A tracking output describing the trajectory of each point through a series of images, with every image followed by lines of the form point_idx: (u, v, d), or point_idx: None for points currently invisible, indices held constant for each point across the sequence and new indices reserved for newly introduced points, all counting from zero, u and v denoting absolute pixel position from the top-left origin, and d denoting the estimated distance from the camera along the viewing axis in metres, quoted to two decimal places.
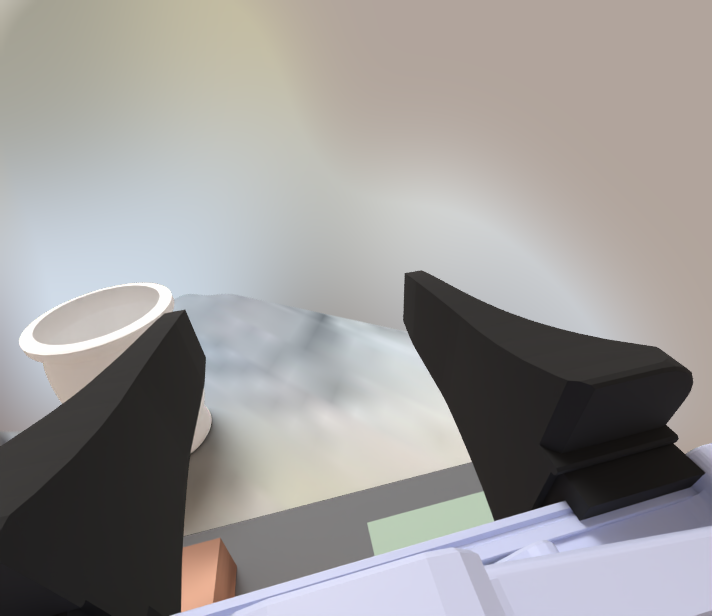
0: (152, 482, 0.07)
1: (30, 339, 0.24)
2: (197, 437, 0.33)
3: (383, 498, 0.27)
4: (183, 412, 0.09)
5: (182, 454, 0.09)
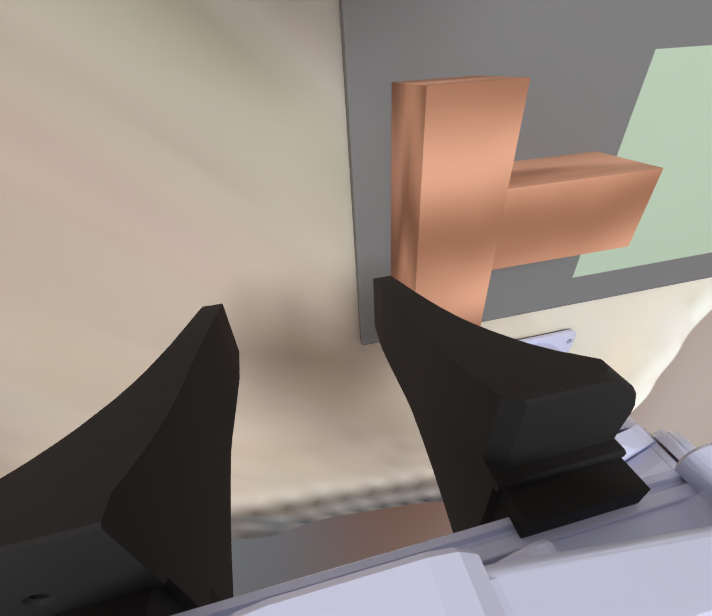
0: (206, 469, 0.07)
1: None
2: None
3: (699, 8, 0.16)
4: (225, 403, 0.09)
5: (226, 444, 0.09)
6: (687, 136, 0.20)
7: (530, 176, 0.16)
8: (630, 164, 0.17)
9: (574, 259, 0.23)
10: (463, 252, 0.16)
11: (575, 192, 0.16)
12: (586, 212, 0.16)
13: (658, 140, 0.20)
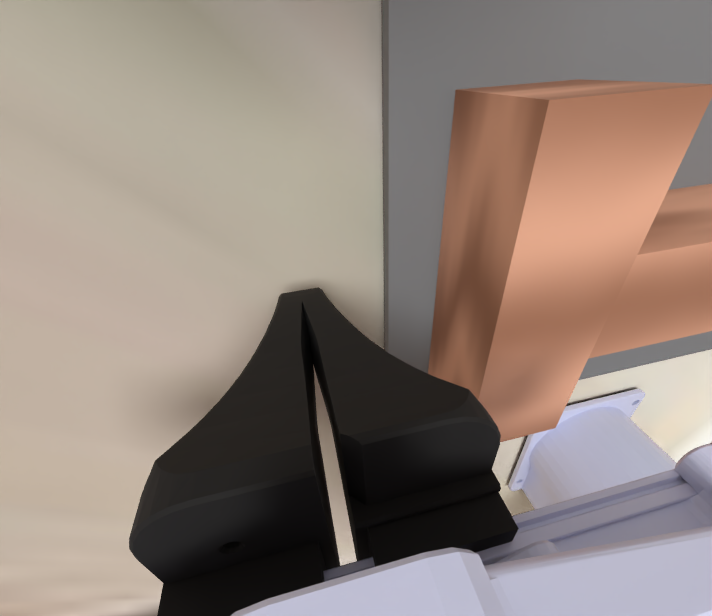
0: (318, 443, 0.08)
1: None
2: None
3: None
4: (312, 385, 0.10)
5: (316, 423, 0.09)
6: None
7: (654, 228, 0.11)
8: None
9: None
10: (554, 341, 0.11)
11: None
12: None
13: None
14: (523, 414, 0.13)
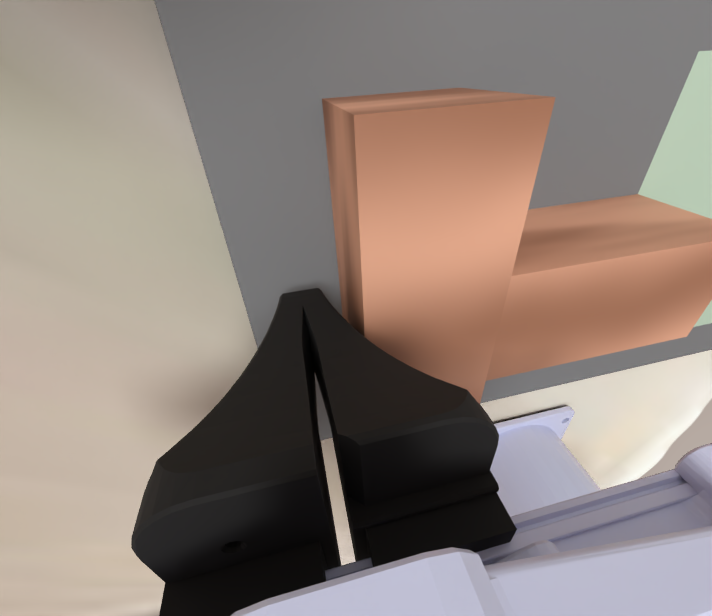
0: (319, 443, 0.08)
1: None
2: None
3: None
4: (313, 385, 0.10)
5: (317, 423, 0.09)
6: None
7: (545, 245, 0.10)
8: (698, 223, 0.11)
9: None
10: (440, 364, 0.10)
11: (618, 274, 0.10)
12: (633, 299, 0.11)
13: (693, 182, 0.14)
14: None
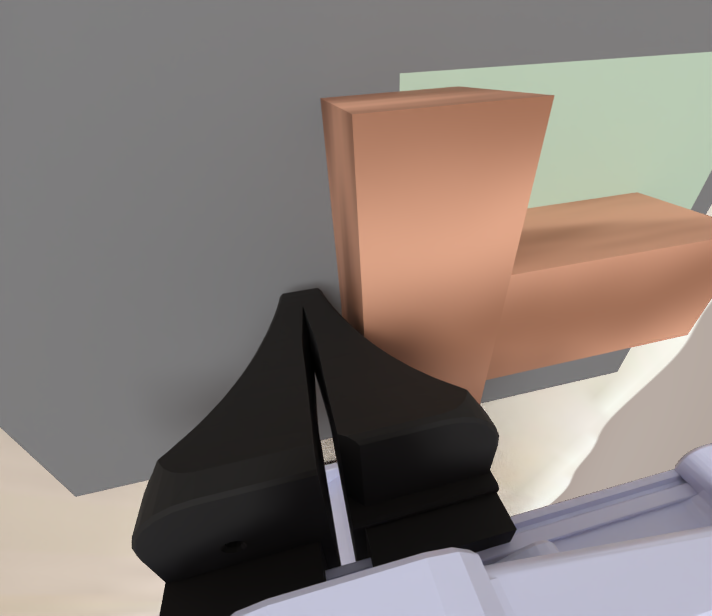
0: (319, 443, 0.08)
1: None
2: None
3: (464, 0, 0.09)
4: (313, 385, 0.10)
5: (317, 423, 0.09)
6: None
7: (545, 244, 0.10)
8: (698, 221, 0.11)
9: None
10: (440, 363, 0.10)
11: (618, 273, 0.10)
12: (632, 297, 0.11)
13: None
14: None
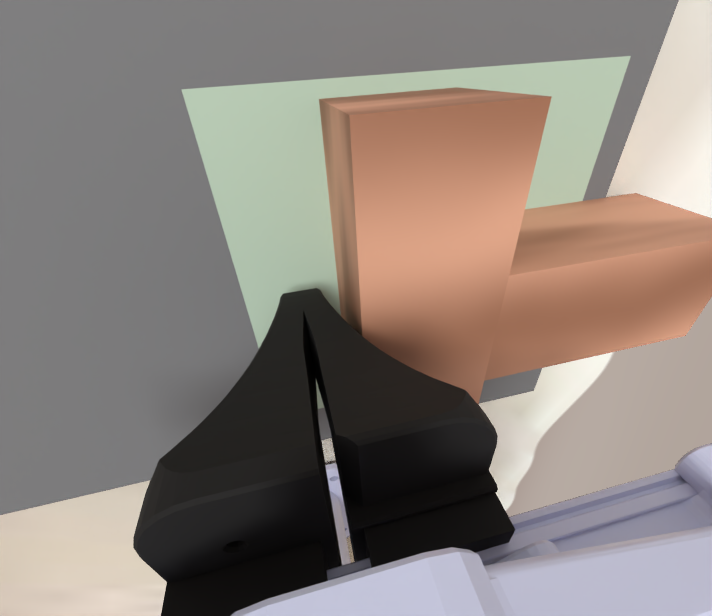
0: (320, 443, 0.08)
1: None
2: None
3: (236, 9, 0.08)
4: (313, 385, 0.10)
5: (318, 423, 0.09)
6: None
7: (543, 244, 0.10)
8: (697, 222, 0.11)
9: None
10: (438, 364, 0.10)
11: (616, 274, 0.10)
12: (631, 298, 0.11)
13: (306, 237, 0.11)
14: None
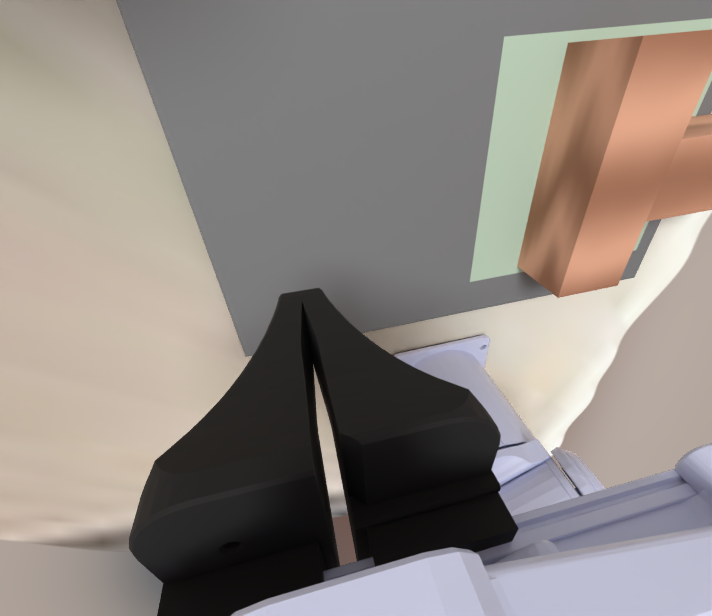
0: (317, 443, 0.08)
1: None
2: None
3: None
4: (311, 385, 0.10)
5: (316, 423, 0.09)
6: None
7: (689, 130, 0.17)
8: None
9: (467, 263, 0.22)
10: (626, 203, 0.17)
11: None
12: None
13: (532, 135, 0.18)
14: (598, 268, 0.19)
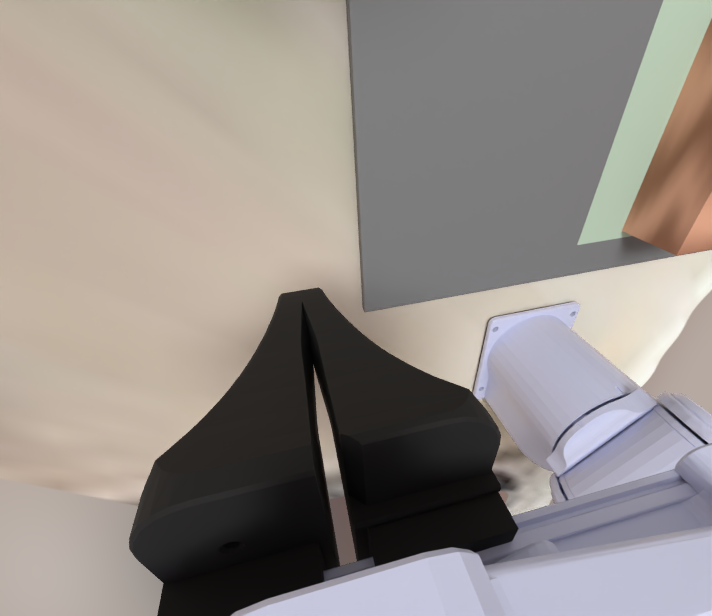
0: (318, 443, 0.08)
1: None
2: None
3: None
4: (312, 385, 0.10)
5: (316, 423, 0.09)
6: None
7: None
8: None
9: (579, 225, 0.23)
10: None
11: None
12: None
13: (665, 97, 0.19)
14: None
